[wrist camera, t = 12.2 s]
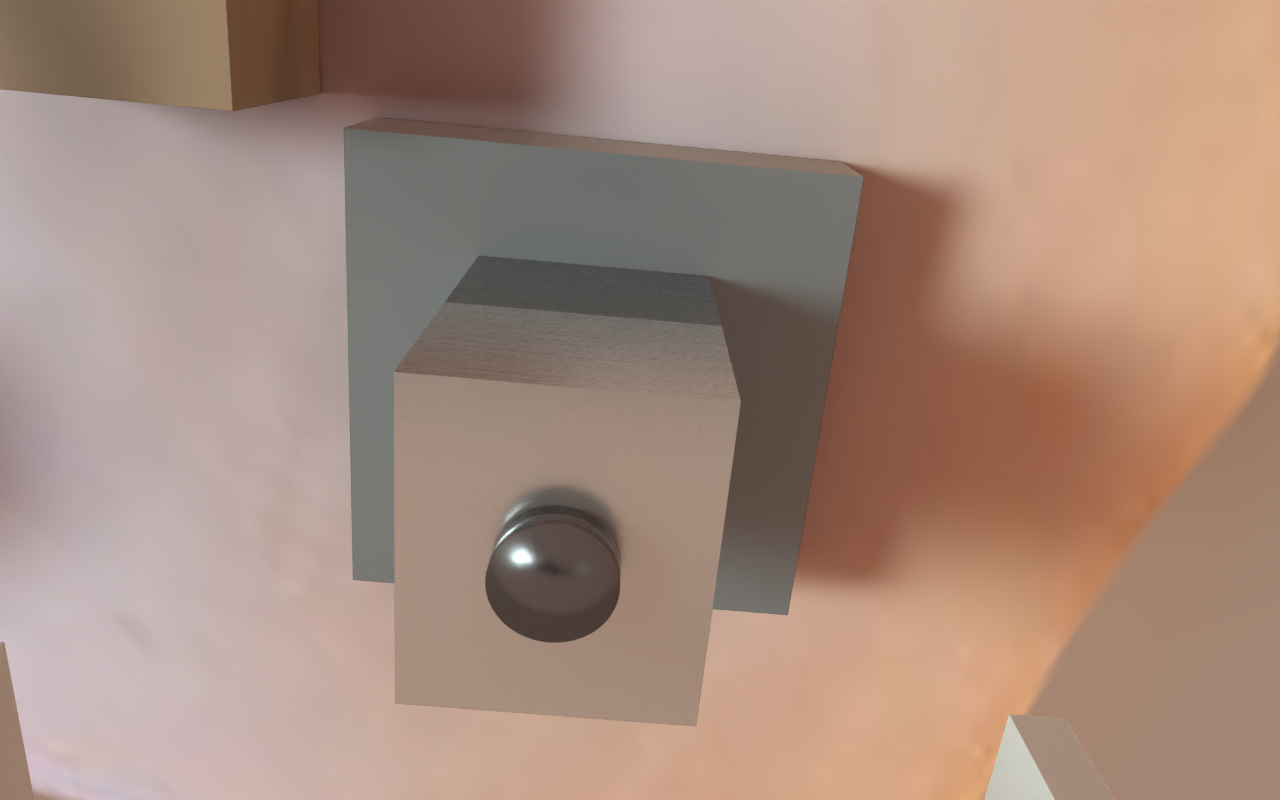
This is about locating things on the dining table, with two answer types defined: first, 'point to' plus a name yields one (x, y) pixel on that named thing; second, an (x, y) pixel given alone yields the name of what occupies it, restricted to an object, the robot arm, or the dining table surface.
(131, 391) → the dining table surface
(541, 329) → the block
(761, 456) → the slate stand
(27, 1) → the walnut stand
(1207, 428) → the dining table surface
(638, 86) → the dining table surface
